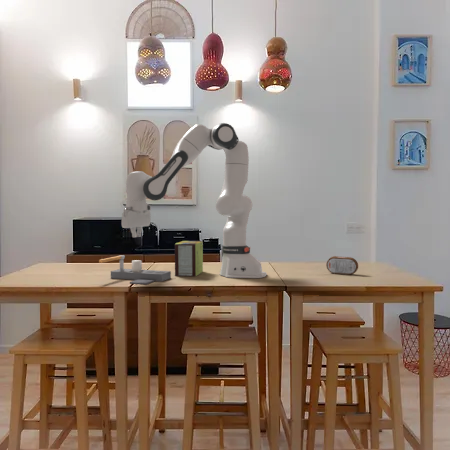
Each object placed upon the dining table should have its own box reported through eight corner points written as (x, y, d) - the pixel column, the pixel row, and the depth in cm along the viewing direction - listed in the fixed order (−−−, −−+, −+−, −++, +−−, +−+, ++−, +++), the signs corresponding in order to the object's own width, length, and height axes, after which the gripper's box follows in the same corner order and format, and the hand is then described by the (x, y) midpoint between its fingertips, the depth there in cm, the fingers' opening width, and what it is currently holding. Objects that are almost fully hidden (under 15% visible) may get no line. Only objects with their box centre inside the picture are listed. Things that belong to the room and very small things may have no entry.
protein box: (203, 271, 219) (202, 241, 218) (195, 276, 204) (195, 243, 203) (182, 271, 221) (182, 240, 220) (174, 276, 206) (174, 243, 205)
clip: (103, 262, 187) (103, 260, 187) (97, 262, 188) (97, 259, 188) (126, 258, 203) (126, 255, 203) (120, 257, 204) (120, 255, 204)
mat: (155, 281, 191) (155, 280, 191) (146, 284, 184) (146, 283, 184) (139, 280, 194) (139, 278, 194) (129, 283, 186) (129, 282, 186)
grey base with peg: (170, 278, 200) (170, 259, 199) (161, 281, 191) (161, 262, 191) (121, 275, 208) (121, 257, 207) (110, 278, 199) (110, 259, 199)
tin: (358, 274, 210) (358, 257, 210) (357, 275, 207) (357, 258, 207) (327, 272, 216) (327, 255, 216) (325, 273, 213) (325, 256, 213)
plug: (143, 277, 201) (143, 260, 201) (138, 279, 197) (138, 261, 197) (135, 277, 203) (134, 260, 202) (130, 278, 199) (130, 261, 198)
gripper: (130, 207, 187) (130, 239, 188) (152, 206, 207) (153, 235, 208) (117, 207, 189) (118, 238, 190) (140, 206, 209) (141, 235, 209)
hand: (136, 237), depth 199 cm, fingers open, 2 cm apart
